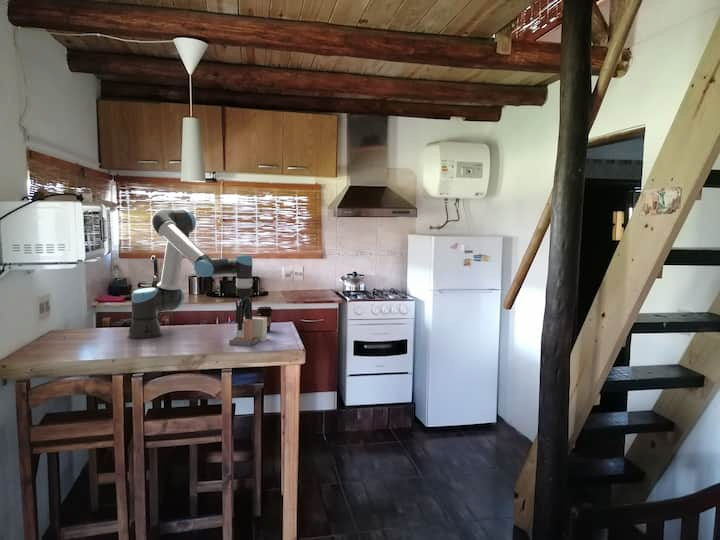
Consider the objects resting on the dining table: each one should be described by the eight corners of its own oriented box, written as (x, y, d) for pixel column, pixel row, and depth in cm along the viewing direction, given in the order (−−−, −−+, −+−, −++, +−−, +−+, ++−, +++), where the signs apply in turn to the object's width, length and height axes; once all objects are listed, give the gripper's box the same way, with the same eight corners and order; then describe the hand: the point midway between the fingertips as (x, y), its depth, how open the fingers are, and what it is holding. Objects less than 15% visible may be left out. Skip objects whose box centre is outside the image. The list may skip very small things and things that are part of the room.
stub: (237, 343, 227) (237, 320, 226) (241, 340, 232) (241, 318, 231) (249, 344, 226) (249, 320, 225) (253, 341, 231) (253, 318, 230)
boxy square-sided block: (238, 340, 236) (238, 317, 235) (243, 337, 242) (243, 315, 241) (262, 341, 234) (262, 319, 233) (266, 338, 240) (266, 316, 239)
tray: (229, 344, 227) (229, 340, 226) (237, 340, 236) (237, 335, 235) (252, 346, 225) (252, 341, 225) (259, 341, 234) (259, 337, 234)
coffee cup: (274, 330, 260) (274, 306, 259) (270, 333, 252) (270, 309, 251) (258, 329, 261) (259, 305, 260) (254, 332, 253) (254, 308, 252)
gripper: (243, 289, 216) (243, 339, 218) (259, 285, 236) (259, 332, 237) (227, 289, 218) (227, 339, 219) (245, 285, 237) (245, 331, 238)
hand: (244, 335), depth 228 cm, fingers open, 7 cm apart
